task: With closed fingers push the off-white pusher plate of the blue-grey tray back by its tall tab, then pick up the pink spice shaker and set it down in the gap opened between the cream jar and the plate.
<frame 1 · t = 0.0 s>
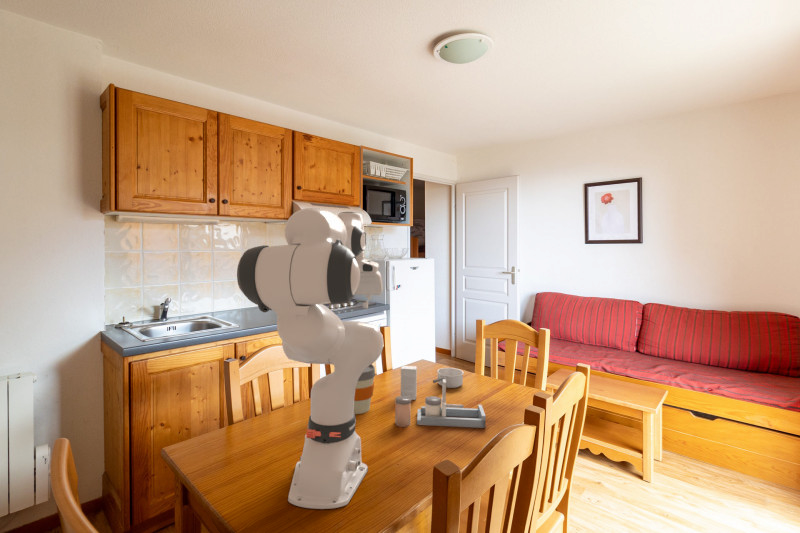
hand: (350, 307, 121), 39 cm above the table, tool pointing down, fingers open, 8 cm apart
pink spice shaker: (402, 423, 126), on the table
skincare box: (408, 398, 148), on the table
saucepan: (445, 388, 160), on the table
pusher: (452, 400, 129), point 7 cm above the table, slide at 0.0 cm
reusable coffee cup: (357, 409, 137), on the table
cream jar: (432, 419, 130), resting in blue-grey tray
blue-grey tray: (451, 420, 129), on the table
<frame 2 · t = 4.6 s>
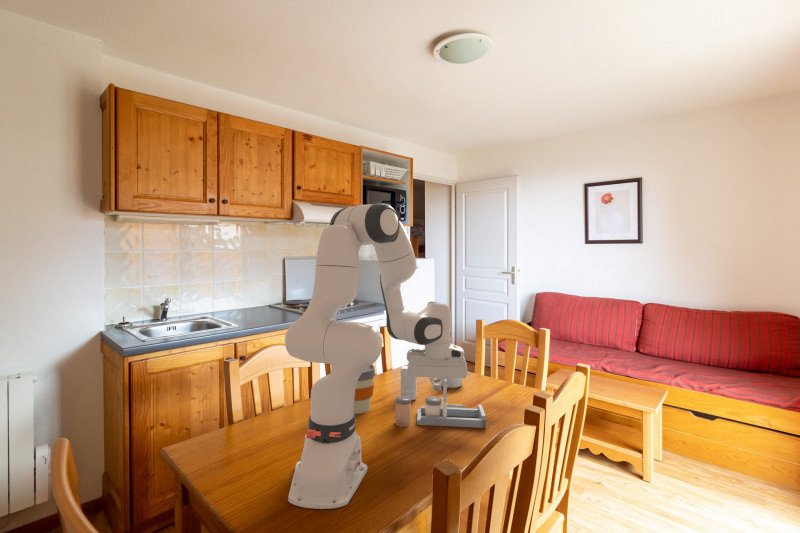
hand: (436, 389, 129), 10 cm above the table, tool pointing down, fingers closed
pusher: (453, 400, 129), point 7 cm above the table, slide at 0.3 cm, touching gripper
everything else where it was.
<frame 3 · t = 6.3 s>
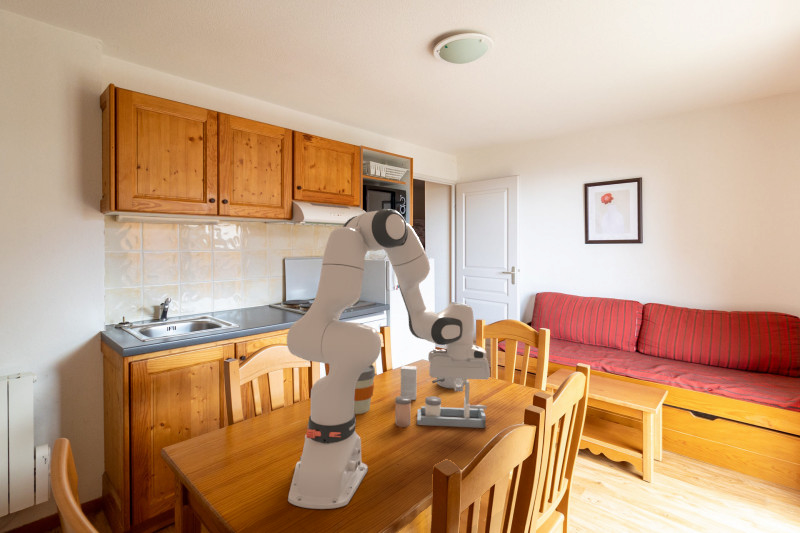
hand: (458, 390, 129), 10 cm above the table, tool pointing down, fingers closed
pusher: (475, 401, 129), point 7 cm above the table, slide at 7.7 cm, touching gripper
everything else where it was.
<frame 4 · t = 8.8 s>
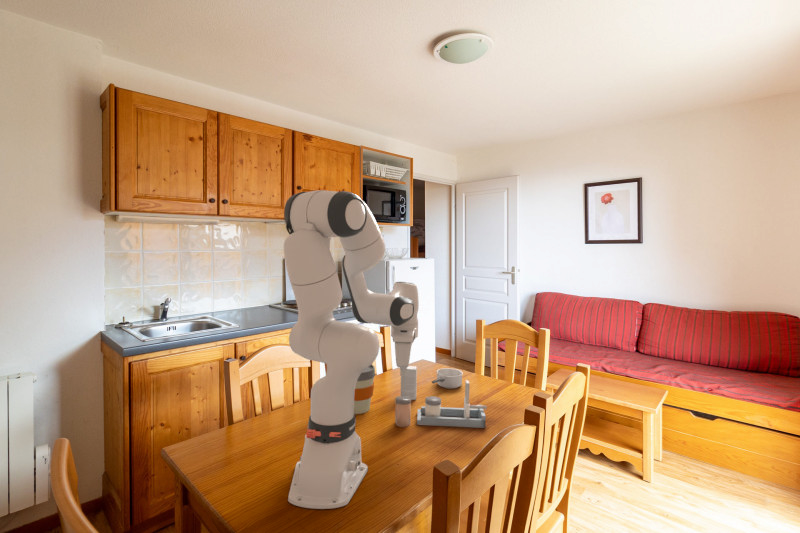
hand: (403, 372, 126), 17 cm above the table, tool pointing down, fingers open, 5 cm apart
pusher: (475, 401, 129), point 7 cm above the table, slide at 7.8 cm
everything else where it was.
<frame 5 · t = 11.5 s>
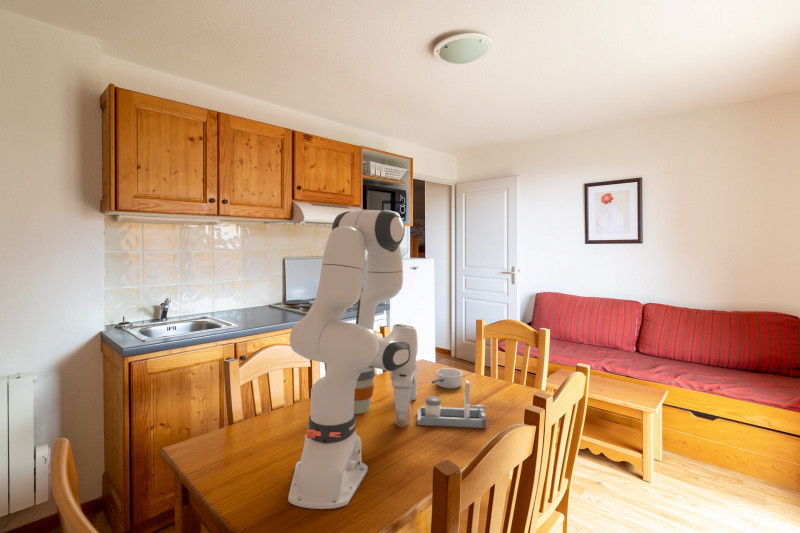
hand: (402, 414, 126), 3 cm above the table, tool pointing down, fingers closed on pink spice shaker, 5 cm apart
pink spice shaker: (402, 423, 126), on the table, touching gripper
everything else where it was.
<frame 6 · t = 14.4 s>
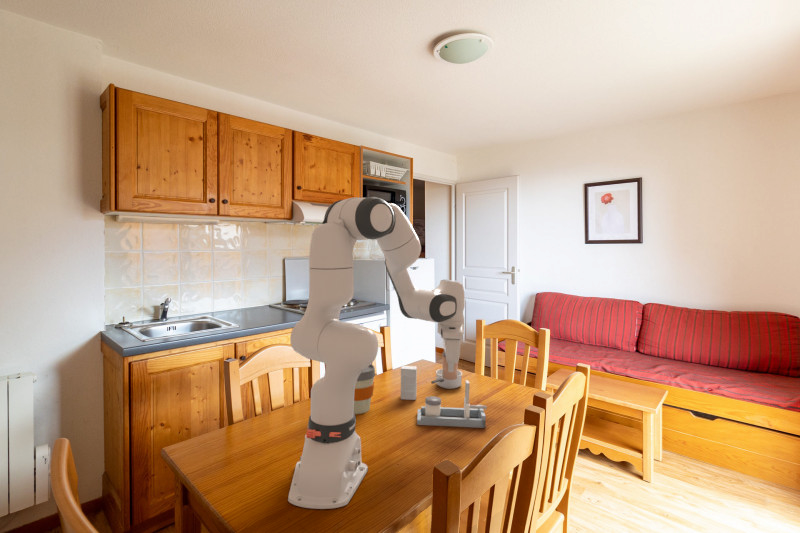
hand: (450, 368, 129), 18 cm above the table, tool pointing down, fingers closed on pink spice shaker, 5 cm apart
pink spice shaker: (449, 377, 129), point 15 cm above the table, touching gripper
when the fingers open (4 cm above the table, at t = 17.4 s): pink spice shaker stays where it is, resting in blue-grey tray.
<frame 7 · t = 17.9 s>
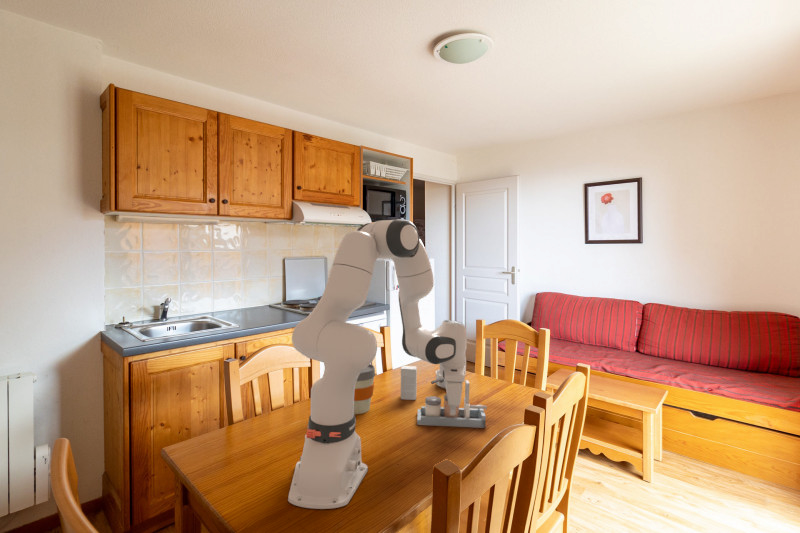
hand: (451, 408, 129), 4 cm above the table, tool pointing down, fingers open, 8 cm apart
pink spice shaker: (451, 420, 129), resting in blue-grey tray
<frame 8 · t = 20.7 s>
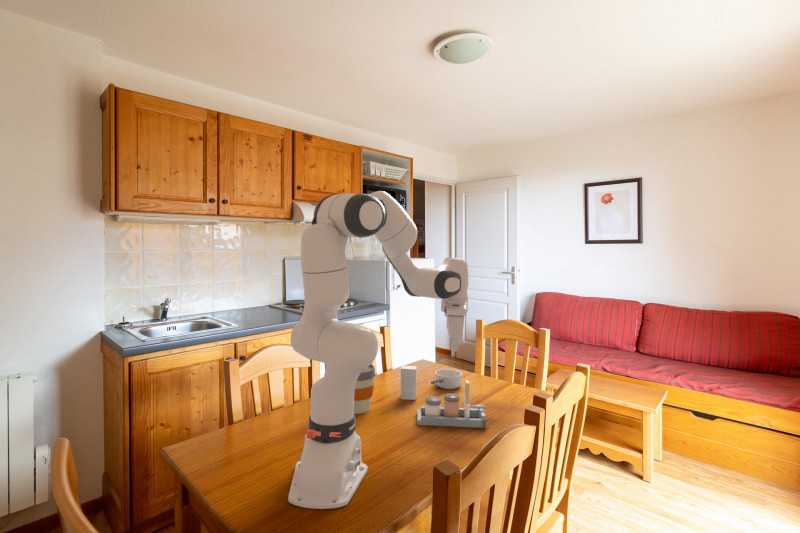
hand: (453, 347, 128), 25 cm above the table, tool pointing down, fingers open, 8 cm apart
at the end: pink spice shaker inside the target area (0.3 cm from its centre), resting in blue-grey tray; pink spice shaker tilted 0°; pusher slide at 7.8 cm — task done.
